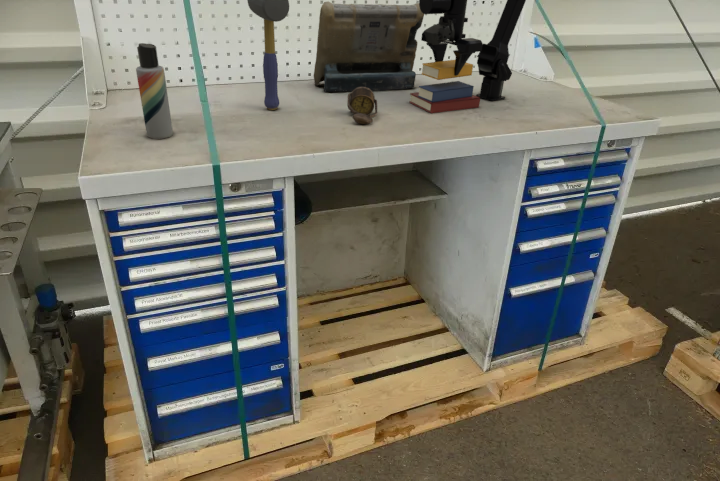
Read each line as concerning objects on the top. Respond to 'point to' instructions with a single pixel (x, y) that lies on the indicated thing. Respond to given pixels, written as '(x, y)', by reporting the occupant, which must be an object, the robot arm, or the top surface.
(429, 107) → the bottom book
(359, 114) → the brown round dial piece
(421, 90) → the middle book
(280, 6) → the rubber mallet
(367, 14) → the tablet
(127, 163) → the top surface
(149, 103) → the lotion bottle
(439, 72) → the top book
